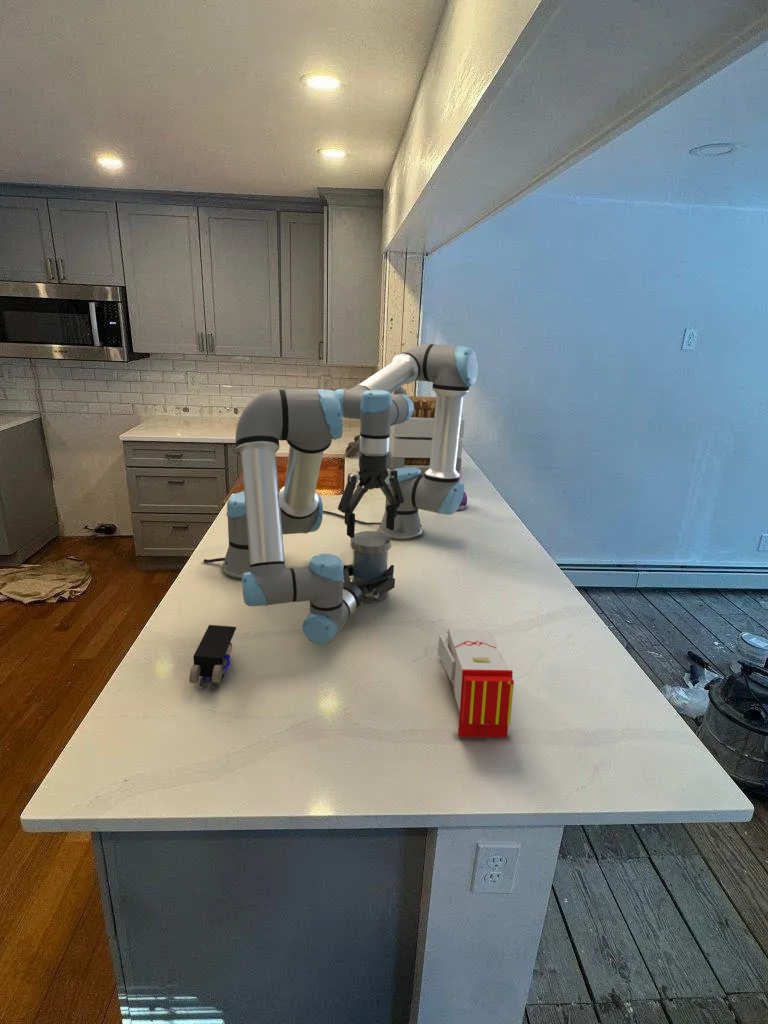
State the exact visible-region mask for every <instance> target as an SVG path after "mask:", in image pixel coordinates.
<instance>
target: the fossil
mask: <svg viewBox="0 0 768 1024" xmlns="http://www.w3.org/2000/svg"><path fill="white" fill-rule="evenodd" d="M353 440H354V441H350V442H348V444H347V445H348V446H347V447H346V449H345V453H344V455H345V457H346V458H352V457H355V456H356V455H358V454H360V453H361V451H360V434H357V435H355V436H354V437H353Z"/></svg>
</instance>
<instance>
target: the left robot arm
mask: <svg viewBox="0 0 768 1024" xmlns="http://www.w3.org/2000/svg"><path fill="white" fill-rule="evenodd" d="M334 391H335V390H332V389H321V388H316V389H315V388H310V389H309V388H307V389H303V388H302V389H301V388H300V389H278V388H274V389H268V390H264V391H262V392H260V393H259V394H256V395H255V396H254V397H253V398H252V399H251V400H250V401H249V402H248V403H247V405H246V406H245V407H244V409H243V411H242V413H241V415H240V417H239V420H238V422H237V425H236V431H235V450H236V452H237V453H238V454H239V455H241V456H240V457H241V468H242V480H243V491H239V492H237V493H235V494H232V495H231V496H229V498H228V500H227V501H226V517H227V533H228V536H227V537H228V547H227V550H226V554H225V557H217V558H211V559H206V558H204V559H203V563H207V564H208V563H209V564H210V563H216V562H223V572H224V574H226V575H227V576H228V577H229V578H230V577H231V578H233V579H238V580H241V588H242V597H243V603H244V604H245V605H246V606H247V607H261V606H263V607H264V606H265V607H268V606H271V605H279V604H288V603H298V602H299V603H300V602H306V601H309V614H307V615H306V617H305V618H304V620H303V622H302V624H301V626H302V627H301V629H302V633H303V635H304V637H305V639H307V640H308V641H309V642H310V643H312V644H315V645H326V644H328V643H329V642H330V641H331V640H332V639H334V638H335V637H336V636H337V635H338V633H339V632H340V630H341V629H342V628H343V627H344V625H346V623H347V622H348V620H349V619H350V618H351V617H352V616H353V614H355V612H357V610H358V609H359V608H360V606H361V605H362V603H363V602H364V601H363V600H364V599H366V598H367V597H370V598H373V601H374V602H378V599H379V597H381V596H382V595H384V594H385V593H386V594H387V593H389V592H390V591H392V590H393V589H395V587H396V578H395V577H394V571H395V565H394V564H391V565H390V566H389V567H387V571H386V572H385V573H384V574H383V577H381V578H378V579H376V580H373V581H370V582H368V581H365V582H363V583H357V582H354V581H352V579H351V578H352V564H353V562H351V564H344V562H343V560H342V559H341V558H340V557H339V556H337V555H335V554H332V553H318V555H314V556H312V557H311V558H310V559H309V562H308V563H309V564H308V566H298V567H288V568H287V567H286V561H285V548H284V538H283V537H284V536H283V535H294V534H295V535H296V534H308V533H315V532H317V531H318V530H319V529H320V527H321V525H322V522H323V514H324V512H323V511H324V507H323V500H322V497H321V495H320V494H319V493H317V492H316V489H317V485H318V480H319V475H320V470H321V465H322V462H323V461H322V460H323V455H324V452H325V451H327V450H328V449H329V448H330V447H331V445H332V442H333V440H334V441H337V440H340V439H341V438H342V437H343V432H344V431H343V429H344V428H343V427H344V426H343V417H342V413H341V407H340V402H339V398H338V396H337V394H336V393H335V392H334ZM280 441H286V443H287V445H288V446H289V448H288V457H287V464H286V473H285V481H284V486H283V487H282V488H281V489H280V490H279V480H278V479H279V478H278V467H277V455H276V453H277V452H278V451H279V450H280Z"/></svg>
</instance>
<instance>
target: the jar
mask: <svg viewBox="0 0 768 1024" xmlns="http://www.w3.org/2000/svg"><path fill="white" fill-rule="evenodd" d="M388 556H389V550H388V551H386V552H384V553H379V554H365V553H360V552H357V551H355V550H353V549H352V563H353V564H352V563H351V564H352V576H351V582H352V581H354V582H357V583H363V582H365V581H368V582H370V581H373V580H376V579H378V578H381V577H383V574H384V573H385V572H386V571H387V569H388V558H389V557H388ZM386 595H387V593H385V594H384V595H382V596H381V597H379V599H378V601H381V600H383V599H384V598H385V597H386ZM378 601H377V602H378ZM362 602H364V603H365V602H366V603H373V602H375V601H373V598H370V597H367V598H366V599H364V600H363V601H362Z"/></svg>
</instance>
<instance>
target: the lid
mask: <svg viewBox="0 0 768 1024" xmlns="http://www.w3.org/2000/svg"><path fill="white" fill-rule="evenodd" d="M350 548H351V549H352V551H353V550H355V551H357V552H360V553H365V554H379V553H384V552H386V551H388V552H389V551H390V550H391V548H392V539H391V538H390V537H389V536H388V535H386V534H384V533H381V532H379V531H376V530H375V531H373V530H365V531H359V532H355V533H354V538H351V537H350Z"/></svg>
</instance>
